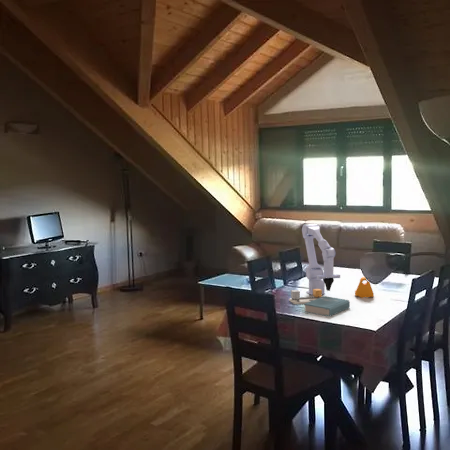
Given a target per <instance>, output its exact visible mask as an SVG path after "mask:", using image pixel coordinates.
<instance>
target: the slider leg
mask: <svg viewBox="0 0 450 450" xmlns="http://www.w3.org/2000/svg"><path fill="white" fill-rule="evenodd" d="M322 296H323V294H322V290H321V289H313V295H312V297H319V298H321V297H322Z"/></svg>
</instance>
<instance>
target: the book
mask: <svg viewBox="0 0 450 450" xmlns="http://www.w3.org/2000/svg"><path fill="white" fill-rule="evenodd" d="M323 296H324V297H321V298H318V299H316V300H313V301H310V302H308V303H305V304H303V305H304V311H303V312H304V313H309V314H314V315H320V316H325V317H329V318H330V317H332V316H335V315H336V314H339V313H341V312H343V311H346V310H347V309H350V305H351V304H350V300H348V299H343V298H338V297H332V296H325V295H323Z"/></svg>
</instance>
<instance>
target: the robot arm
mask: <svg viewBox="0 0 450 450" xmlns="http://www.w3.org/2000/svg"><path fill="white" fill-rule="evenodd" d="M301 233H302V238H303V239H304V243H305V248H306V254H307V260H308V266H307V267H306V268H305V271H306V272H305V277H306V278H307V280H308V291H306V293H307V294H308V295H311V296H313V289H321V290H322V295H326V293H325V288H326V291H327V292H328V291H329V292H331V288H332V285H333V283H334V281H335V280H334V279H341V274H334V263H335V262H334V261H335V260H334V258H335V257H336V255H337V253H336V249H335V248H334V247H332V246H331V245H330V244H329V242H328V240H326V239H324V237H323V236H322V234H321V227H320V225H319V224H318V223H313V224H310V223H308V224H306V223H304V224H303V225H302V228H301ZM314 239H316V241H317V242H318V243H317V245H318V247H319V248H320V250H321V252H322V253H321V256H322V261H323V267H322V265H320V264H319V263H318V260H317V255H316V249H315V243H314Z"/></svg>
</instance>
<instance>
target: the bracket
mask: <svg viewBox="0 0 450 450" xmlns="http://www.w3.org/2000/svg"><path fill="white" fill-rule="evenodd" d="M365 277H366V276H362V277H360V279H359V282H358V285H357V288H356V289H355V290H354V295H355V297H359V298H363V297H369V298H370V297H371V298H374V297H375V296H374V294H375V293H374V291H373V288H372V285H371V282H370V281H369V282H368V281H367V280H366V278H365ZM364 281H365V283H364Z"/></svg>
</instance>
